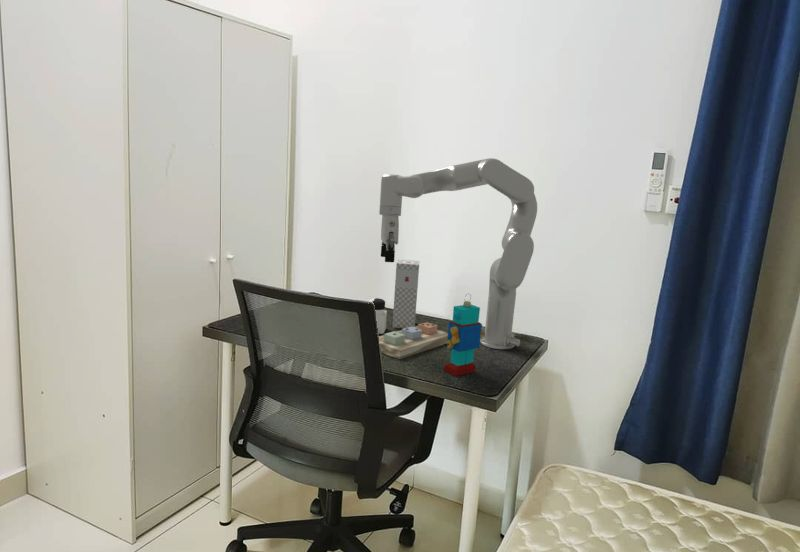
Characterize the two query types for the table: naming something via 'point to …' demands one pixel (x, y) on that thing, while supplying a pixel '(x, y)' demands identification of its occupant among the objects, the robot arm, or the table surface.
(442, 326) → the table surface
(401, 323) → the box
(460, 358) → the toy robot
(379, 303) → the medicine bottle
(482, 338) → the robot arm
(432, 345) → the wooden puzzle board
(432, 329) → the button three
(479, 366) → the table surface
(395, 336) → the button one
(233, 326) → the table surface
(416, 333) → the button two
